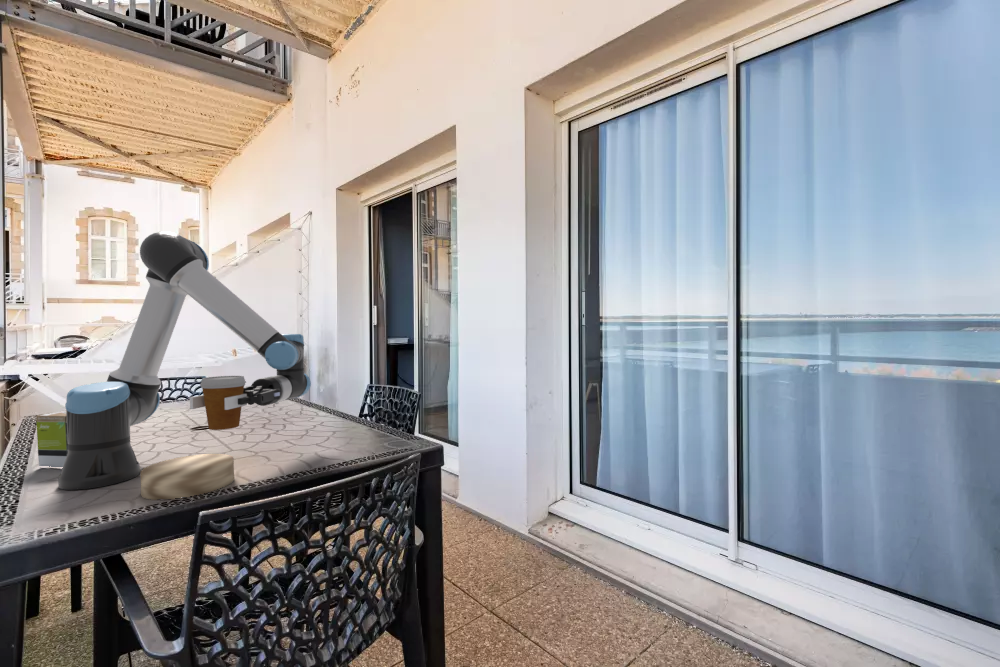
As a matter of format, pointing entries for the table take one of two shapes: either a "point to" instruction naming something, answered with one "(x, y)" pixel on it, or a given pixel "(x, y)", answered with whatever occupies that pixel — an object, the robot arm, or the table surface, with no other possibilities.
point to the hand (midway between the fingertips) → (208, 403)
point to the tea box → (52, 439)
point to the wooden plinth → (187, 476)
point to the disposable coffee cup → (222, 400)
